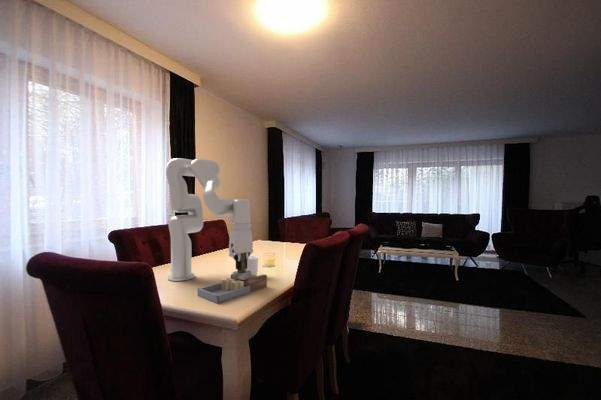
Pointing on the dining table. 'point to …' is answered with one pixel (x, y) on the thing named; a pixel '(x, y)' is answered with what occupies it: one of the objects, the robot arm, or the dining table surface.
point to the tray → (221, 293)
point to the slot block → (254, 282)
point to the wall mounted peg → (242, 270)
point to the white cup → (252, 265)
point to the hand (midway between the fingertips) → (241, 268)
